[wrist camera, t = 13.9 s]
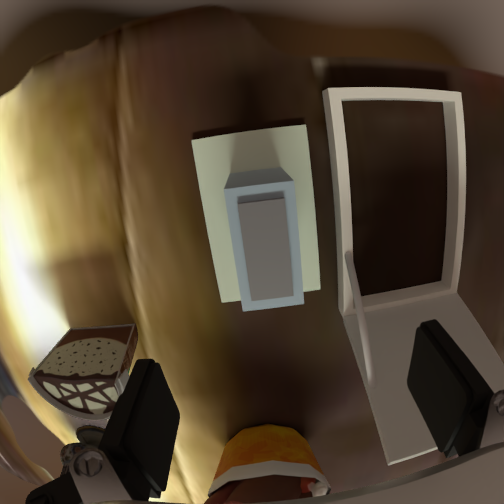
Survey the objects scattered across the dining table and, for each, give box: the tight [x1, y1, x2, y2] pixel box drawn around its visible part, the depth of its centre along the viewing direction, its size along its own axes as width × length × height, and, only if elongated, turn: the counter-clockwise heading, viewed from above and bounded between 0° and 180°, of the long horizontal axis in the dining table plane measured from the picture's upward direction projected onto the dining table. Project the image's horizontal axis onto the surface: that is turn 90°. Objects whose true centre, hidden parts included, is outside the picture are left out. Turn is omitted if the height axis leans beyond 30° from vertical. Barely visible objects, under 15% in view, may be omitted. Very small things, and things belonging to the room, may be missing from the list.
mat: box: [192, 125, 320, 303], centre depth 30 cm, size 10×16×1 cm, turn 8°
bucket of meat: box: [204, 424, 331, 504], centre depth 33 cm, size 20×16×20 cm
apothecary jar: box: [60, 426, 105, 476], centre depth 35 cm, size 12×12×18 cm
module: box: [224, 167, 304, 311], centre depth 25 cm, size 4×9×8 cm, turn 7°
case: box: [322, 87, 504, 465], centre depth 22 cm, size 14×26×18 cm, turn 8°
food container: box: [28, 324, 138, 421], centre depth 31 cm, size 12×6×10 cm, turn 98°
